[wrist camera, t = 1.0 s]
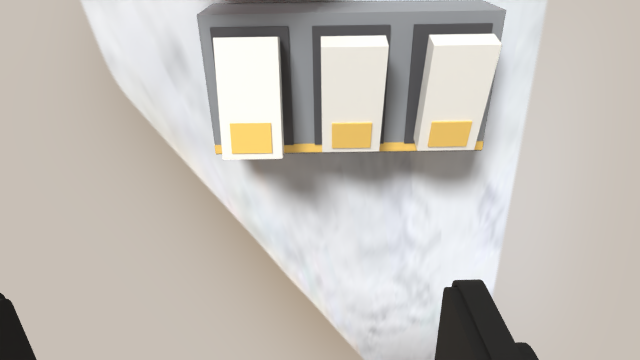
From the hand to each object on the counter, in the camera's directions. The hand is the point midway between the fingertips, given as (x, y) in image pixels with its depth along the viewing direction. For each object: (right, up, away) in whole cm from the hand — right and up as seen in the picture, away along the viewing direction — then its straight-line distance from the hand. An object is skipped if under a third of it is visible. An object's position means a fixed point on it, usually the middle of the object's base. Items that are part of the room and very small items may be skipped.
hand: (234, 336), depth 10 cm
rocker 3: (+10, +8, +17) cm, 21 cm away
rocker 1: (-2, +8, +17) cm, 19 cm away
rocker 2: (+4, +8, +17) cm, 19 cm away
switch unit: (+4, +11, +22) cm, 25 cm away
